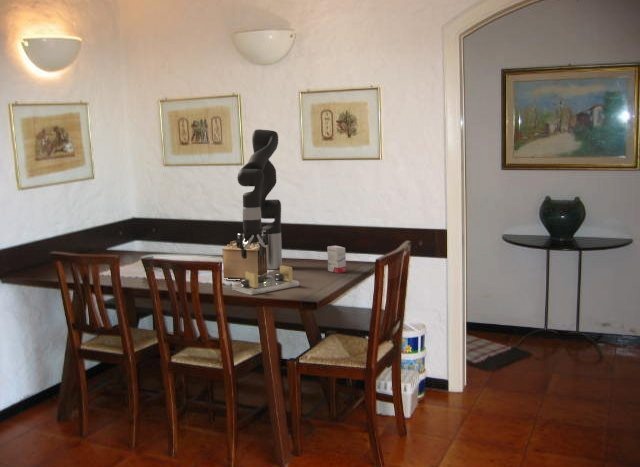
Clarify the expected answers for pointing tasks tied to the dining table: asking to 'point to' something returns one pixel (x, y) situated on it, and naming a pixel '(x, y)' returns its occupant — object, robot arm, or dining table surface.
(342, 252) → the ink box
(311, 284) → the dining table surface
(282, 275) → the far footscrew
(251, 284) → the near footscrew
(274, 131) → the robot arm
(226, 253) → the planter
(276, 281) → the levelling plate
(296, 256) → the dining table surface
